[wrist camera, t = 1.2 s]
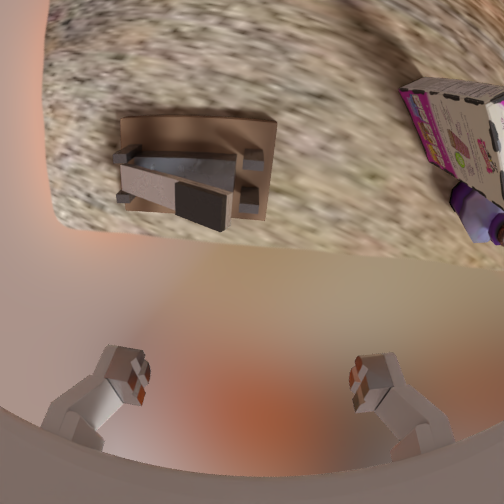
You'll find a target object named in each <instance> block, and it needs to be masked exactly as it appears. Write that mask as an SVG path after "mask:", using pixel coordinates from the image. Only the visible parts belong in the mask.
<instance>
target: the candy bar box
mask: <svg viewBox="0 0 504 504" xmlns="http://www.w3.org/2000/svg"><path fill="white" fill-rule="evenodd" d="M398 90H399V92H400V94H401V96H402V98H403V100H404V102H405V104H406V107H407V109H408V111H409V113H410V115H411V117H412V120H413V122H414V124H415V127H416V129H417V131H418V134H419V136H420V139H421V141H422V144H423V147H424V149H425V152H426V155H427V157H428V160H429V162H430V163H432V164H434V165H436V166H437V167H439V168H441V169H442V170H444V171H446V172H447V173H449V174H451V175H452V176H454V177H456V178H457V179H459V180H460V181H462V182H463V183H465V184H466V185H468V186H469V187H471V188H472V189H474V190H475V191H477V192H478V193H479V194H481V195H482V196H484V197H485V198H487V199H488V200H489V201H491V202H492V203H493V204H495V205H496V206H497V207H499V208H500V209H501V210H503V211H504V87H503V86H498V85H492V84H486V83H479V82H473V81H464V80H457V79H446V78H432V77H423V78H420V79H418V80H416V81H414V82H412V83H410V84H408V85H405V86H403V87H401V88H399V89H398Z"/></svg>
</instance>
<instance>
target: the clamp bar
mask: <svg viewBox="0 0 504 504" xmlns="http://www.w3.org/2000/svg"><path fill="white" fill-rule="evenodd" d="M120 168H121V182H122V191H125V192H127V193H130V194H133V195H135V196H138V197H141V198H143V199H146V200H149V201H151V202H154V203H157V204H159V205H162V206H165V207H167V208H170V209H172V210H175V215H177V216H180V217H183V218H185V219H188V220H190V221H193V222H195V223H198V224H200V225H203V226H206V227H208V228H211V229H213V230H216V231H218V232H222V231H224V230H225V229H227V228H228V227H230V226H231V212H232V198H233V192H230V191H226V190H223V189H220V188H216V187H213V186H210V185H206V184H203V183H199V182H196V181H192V180H189V179H185V178H182V177H178V176H175V175H171V174H167V173H163V172H160V171H156V170H152V169H148V168H145V167H141V166H137V165H133V164H129V163H124V164H121V165H120Z"/></svg>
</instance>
